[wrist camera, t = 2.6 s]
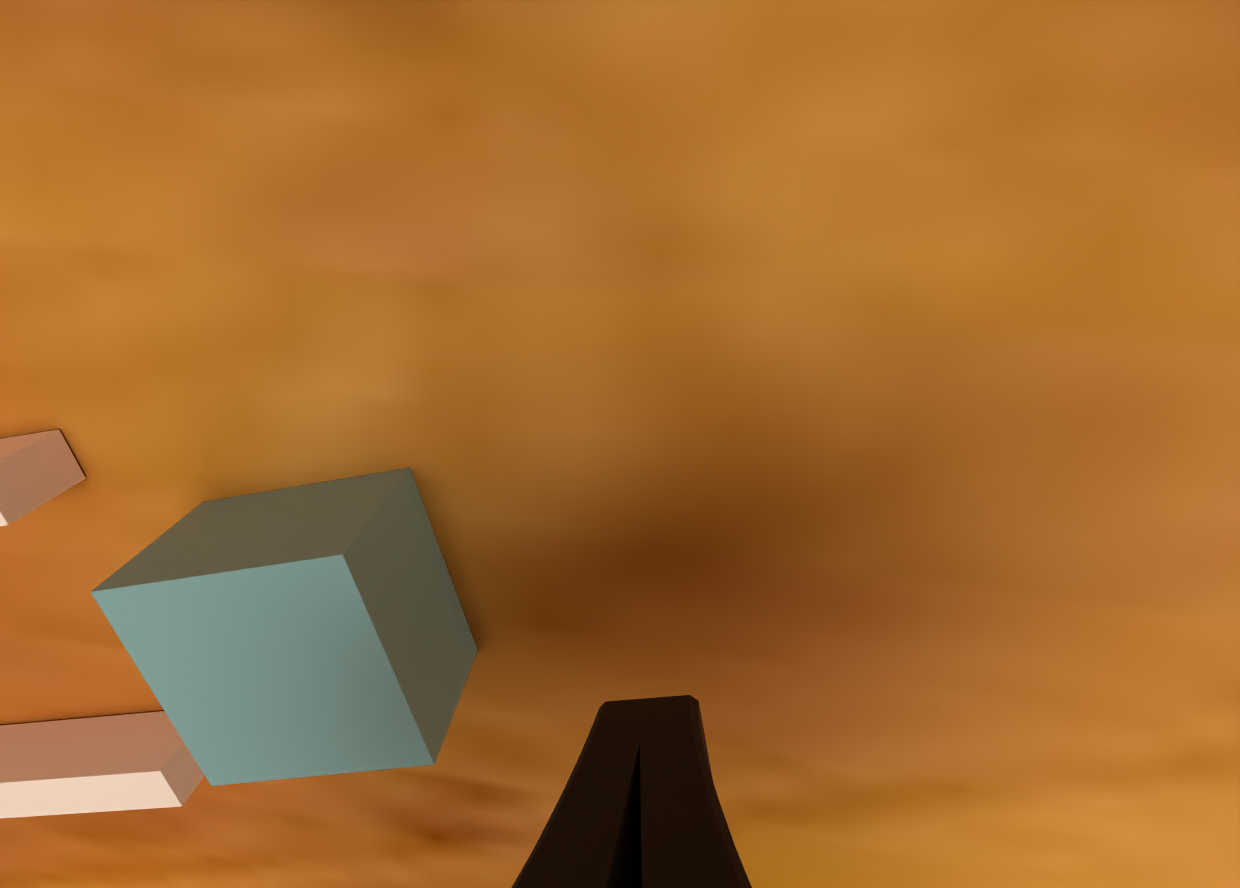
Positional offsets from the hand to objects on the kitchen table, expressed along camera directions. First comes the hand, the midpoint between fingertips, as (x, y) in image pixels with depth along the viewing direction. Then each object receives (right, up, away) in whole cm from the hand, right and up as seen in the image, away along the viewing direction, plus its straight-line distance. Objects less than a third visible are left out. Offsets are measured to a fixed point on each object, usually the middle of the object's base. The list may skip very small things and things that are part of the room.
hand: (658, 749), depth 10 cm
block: (-7, +1, +6) cm, 9 cm away
